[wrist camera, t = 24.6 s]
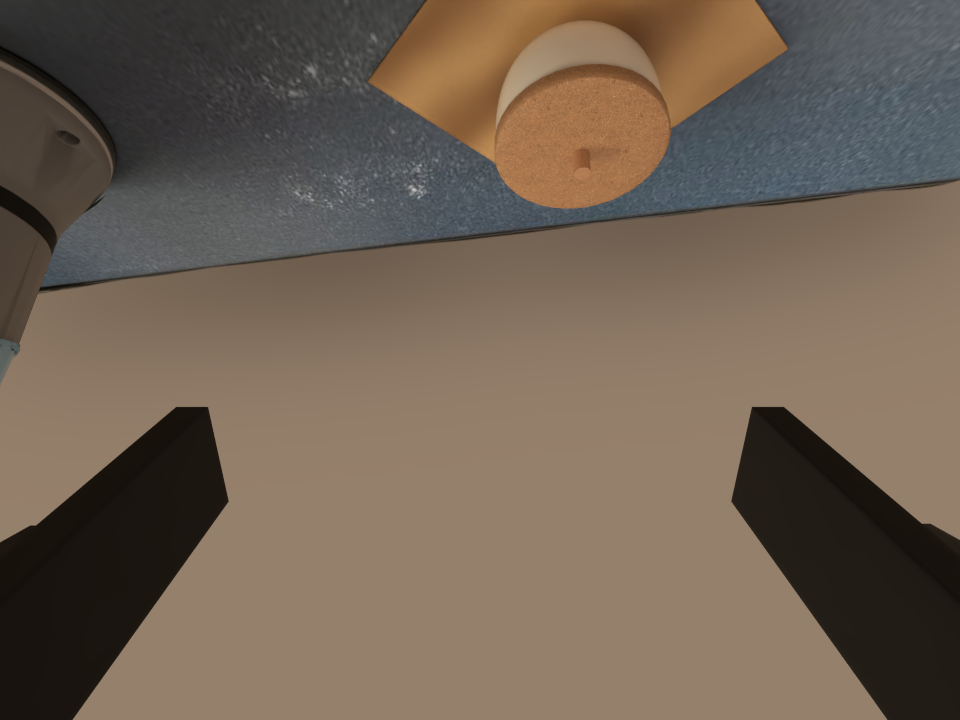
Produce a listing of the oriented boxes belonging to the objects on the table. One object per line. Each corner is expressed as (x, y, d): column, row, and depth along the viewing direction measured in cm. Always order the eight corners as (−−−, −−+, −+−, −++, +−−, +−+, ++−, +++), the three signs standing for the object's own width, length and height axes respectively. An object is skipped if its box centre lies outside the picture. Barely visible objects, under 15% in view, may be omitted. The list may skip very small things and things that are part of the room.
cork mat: (368, 79, 37) (368, 82, 37) (595, -235, 23) (595, -232, 22) (560, 201, 48) (560, 204, 48) (787, 46, 34) (788, 49, 34)
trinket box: (624, 132, 41) (638, 231, 37) (487, 125, 40) (488, 225, 36) (681, -12, 31) (709, 104, 27) (501, -24, 30) (503, 93, 26)
